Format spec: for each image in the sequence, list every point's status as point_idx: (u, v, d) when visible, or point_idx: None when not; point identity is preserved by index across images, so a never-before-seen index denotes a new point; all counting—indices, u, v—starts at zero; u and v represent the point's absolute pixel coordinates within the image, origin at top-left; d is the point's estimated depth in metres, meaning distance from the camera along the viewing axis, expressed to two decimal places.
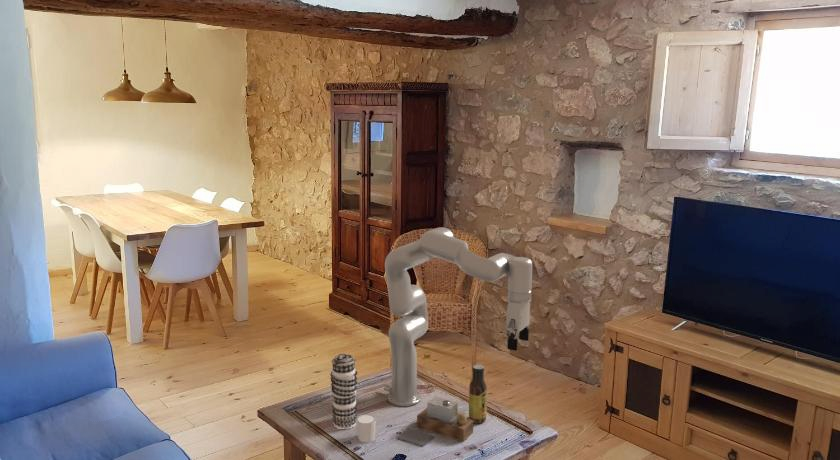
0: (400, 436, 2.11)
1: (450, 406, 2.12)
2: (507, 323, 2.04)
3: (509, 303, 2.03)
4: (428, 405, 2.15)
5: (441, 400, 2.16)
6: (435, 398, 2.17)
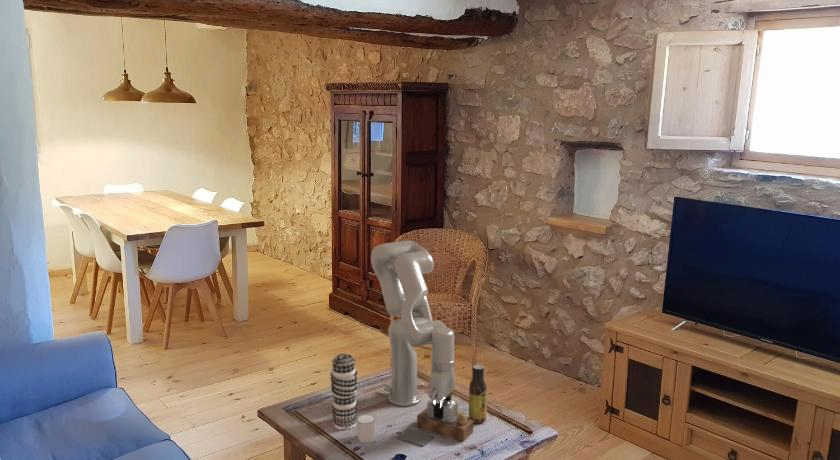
0: (400, 436, 2.11)
1: (450, 406, 2.12)
2: (430, 392, 2.10)
3: (431, 373, 2.09)
4: (428, 405, 2.15)
5: None
6: None
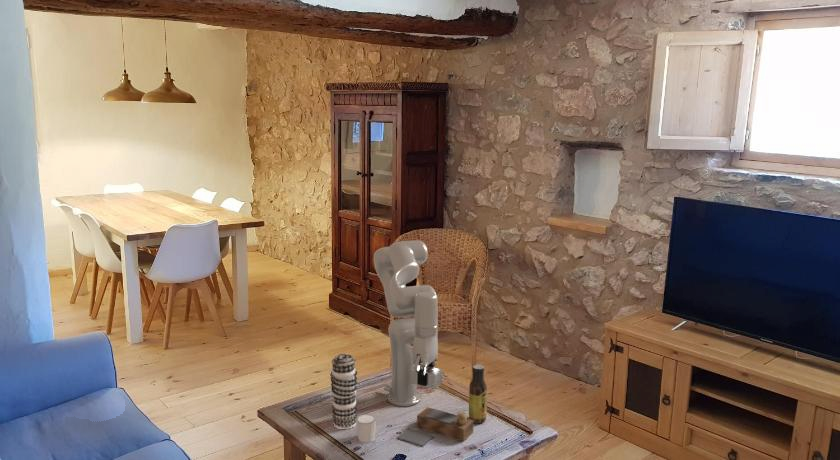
0: (400, 436, 2.11)
1: (435, 372, 2.06)
2: (413, 358, 2.04)
3: (415, 338, 2.03)
4: (412, 372, 2.08)
5: None
6: None
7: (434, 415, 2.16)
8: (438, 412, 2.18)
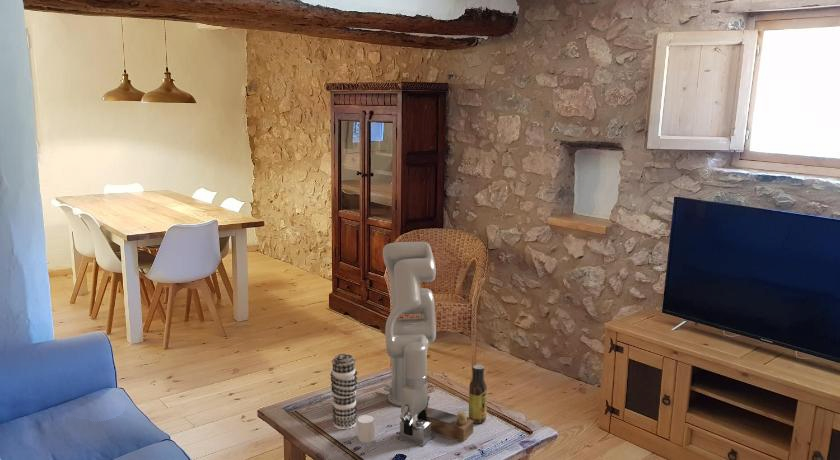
0: (400, 436, 2.11)
1: (423, 426, 2.07)
2: (402, 408, 2.05)
3: (403, 389, 2.04)
4: (401, 425, 2.10)
5: (414, 420, 2.11)
6: (408, 418, 2.13)
7: (434, 415, 2.16)
8: (438, 412, 2.18)
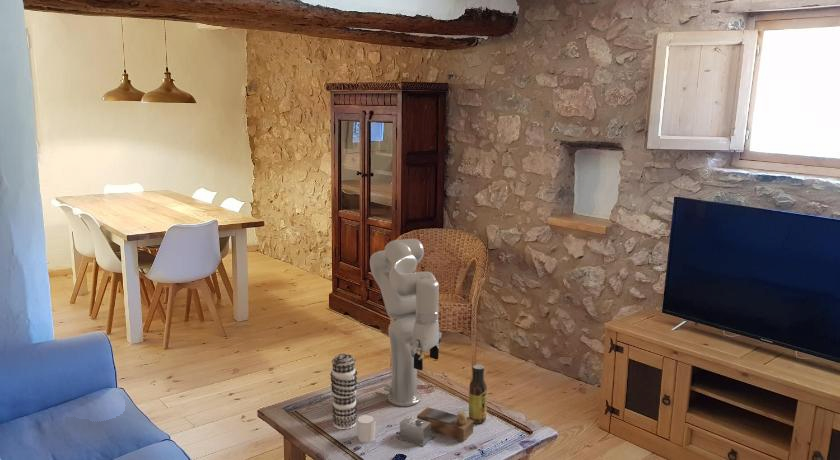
0: (400, 436, 2.11)
1: (423, 426, 2.07)
2: (413, 343, 2.06)
3: (415, 324, 2.05)
4: (401, 425, 2.10)
5: (414, 420, 2.11)
6: (408, 418, 2.13)
7: (434, 415, 2.16)
8: (438, 412, 2.18)
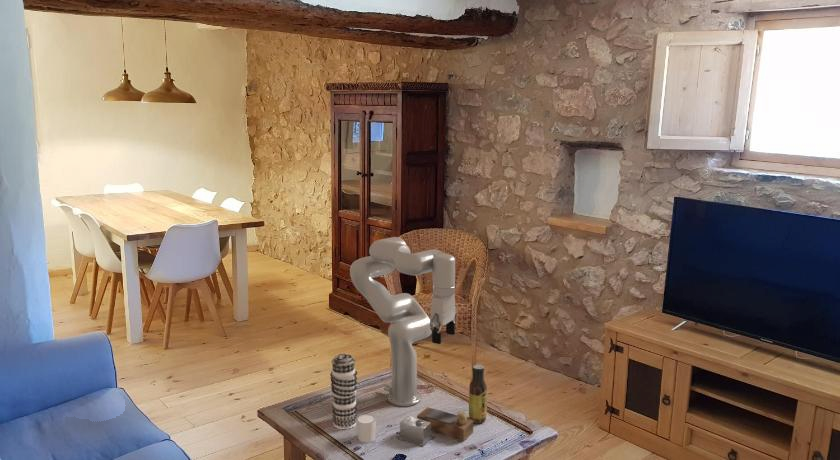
0: (400, 436, 2.11)
1: (423, 426, 2.07)
2: (431, 317, 2.12)
3: (433, 298, 2.11)
4: (401, 425, 2.10)
5: (414, 420, 2.11)
6: (408, 418, 2.13)
7: (434, 415, 2.16)
8: (438, 412, 2.18)
